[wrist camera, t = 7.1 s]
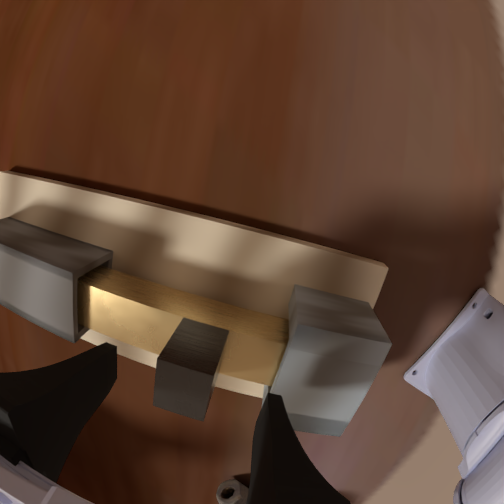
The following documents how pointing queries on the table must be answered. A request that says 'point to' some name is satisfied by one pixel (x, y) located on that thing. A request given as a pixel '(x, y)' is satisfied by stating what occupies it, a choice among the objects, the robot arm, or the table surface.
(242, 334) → the tan flat block
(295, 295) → the grey blocks on plank
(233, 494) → the pipe
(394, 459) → the table surface
